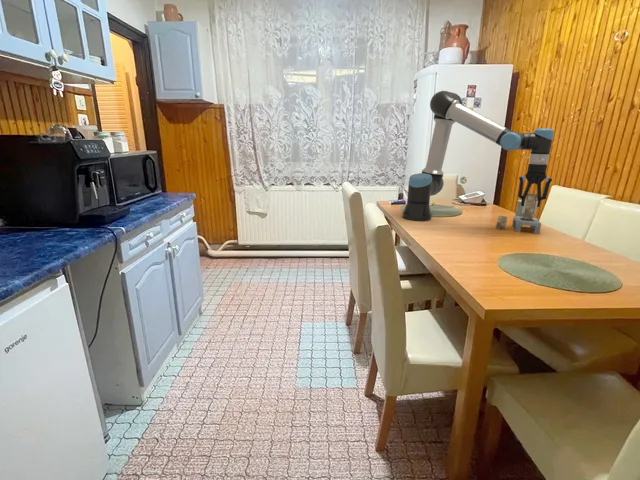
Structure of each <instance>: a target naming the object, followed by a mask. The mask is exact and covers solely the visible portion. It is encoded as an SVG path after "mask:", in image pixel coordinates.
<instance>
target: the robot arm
mask: <svg viewBox="0 0 640 480" xmlns="http://www.w3.org/2000/svg"><path fill="white" fill-rule="evenodd" d="M463 103H464V102H463V99H462V98H461V96H460V95H458V94H457V93H455V92H452V91H451V92H450V91H448V90H440V91H438V92H436V93H434V94H433V96H432V97H431V99H430V101H429V108H430V110H431V112H432V113H433V114H434V115H433V121H434V122H435V125H434V128H433V133H432V137H431V142H430V148H429V151H428V155H427V159H426V163H425V167H424V168H423V169H422V170H421V173H414V174H411V175H410V176H409V178H408V189H407V198H406V199H407V200H406V204H405V207H404V209H403V211H402V218H403V219H405V220H409V221H417V222H424V221H430V220H431V219H432V212H431V207H430V206H431V205H430V202H431V201H430V200H431V196H432V197H433V196H436V195H437V194H439V193H440V192H441V191H443V187H444V179H443V177H444V172H443V165H444V160H445V156H446V152H447V148H448V145H449V140H450V136H451V132H452V131H451V130H452V128H453V125H454V124H455V123H457V124H460V125H462V126H463V127H465V128H467V129H469V130H470V131H472V132H474V133H476V134H478V135H479V136H481V137H484V138H486V139H487V140H489V141H491V142H493V143H495V144H497V145H498V146H499V147H501V148H502V149H503V150H505V151H508V152H509V151H510V152H511V151H516V150H517V151H518V150H523V151H530V155H529V160H528V162H529V164H528V166H527V172H526V174H525V175H523V176H519V177H518V180H519V185H518V186H519V187H518V193H517V197H518V198H519V199H520V200H521V206H523V208H522V213H525V207H526V202H527V200H526V198H527V194H528V193H529V191H530V190H531V189H530V188H531V186H532V185H536V194H537V198H536V203H535V208H534V213H533V214H535V215H536V213H537V210H538V208H540V206H541V202H542V201H543V200H546V199H547V195H548V192H549V188H550V184H551V182H552V181H553V178H551V177H548V176H547V169H548V163H549V159H550V154H551V149H552V145H553V140H554V129H552V128H535V129H534V131H533V132H515V131H513V130H511V129H509V128H507V127H505V126H503V125H501V124H499V123H498V122H496V121H494V120H492V119H490V118H488V117H487V116H484V115H482V114H480V113H478V112H477V111H475V110H473V109H471V108H469V107H467V106H466V105H464V104H463ZM525 179H526V181H527V183H526V184H527V185H526V186H525V189H524V191H523V187H524V181H525ZM543 181H545V183H544V188H543V192H542V182H543Z"/></svg>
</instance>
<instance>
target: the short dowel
mask: <svg viewBox="0 0 640 480" xmlns="http://www.w3.org/2000/svg"><path fill="white" fill-rule="evenodd" d="M507 220H508V216H506V215H498V216H497V221H496V225H495V226H496V227H495V228H496V230H503V231H504V230H506V226H507V223H508V222H507Z"/></svg>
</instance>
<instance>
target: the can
mask: <svg viewBox="0 0 640 480" xmlns="http://www.w3.org/2000/svg"><path fill="white" fill-rule="evenodd" d="M521 200H522V199H518V200H517V204H516V209H515V214H514V216H519V217H523V214H524V213H522V208H523V206H521ZM535 216H536V214H533V218H536V217H535Z"/></svg>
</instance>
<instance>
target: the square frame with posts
mask: <svg viewBox="0 0 640 480" xmlns="http://www.w3.org/2000/svg"><path fill="white" fill-rule="evenodd" d="M522 225H523V226H530V227H529V228H530V229H533V228H534V229H533V234H539V235H540V231H541V227H542V222H540V220H539V219H538V218H537V217H534V218H532V221H524V220H523V217H519V216H515V215H514V216H513V219H512V224H511V226H512V227H514V232H517V233H521V229H522V228H521V227H522Z"/></svg>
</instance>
